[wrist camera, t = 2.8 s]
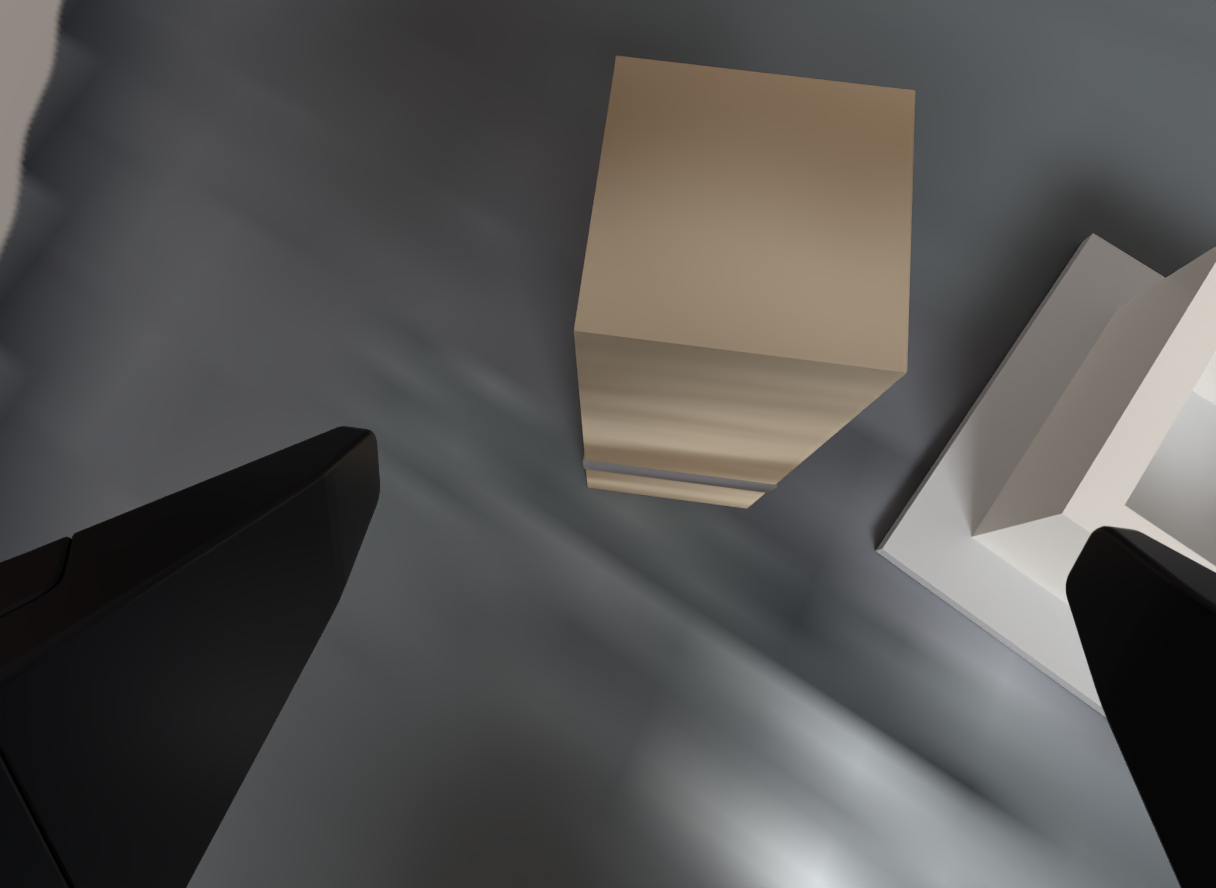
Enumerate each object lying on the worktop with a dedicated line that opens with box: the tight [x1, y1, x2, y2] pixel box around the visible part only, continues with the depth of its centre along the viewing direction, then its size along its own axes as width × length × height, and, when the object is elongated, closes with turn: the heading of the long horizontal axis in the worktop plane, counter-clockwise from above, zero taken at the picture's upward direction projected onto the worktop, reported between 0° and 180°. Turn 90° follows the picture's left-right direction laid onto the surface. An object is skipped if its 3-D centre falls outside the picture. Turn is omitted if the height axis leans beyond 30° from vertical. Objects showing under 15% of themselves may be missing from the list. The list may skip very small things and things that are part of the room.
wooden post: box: [574, 56, 915, 508], centre depth 16 cm, size 5×5×11 cm
